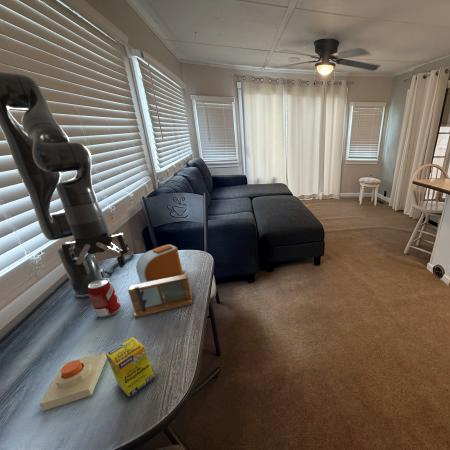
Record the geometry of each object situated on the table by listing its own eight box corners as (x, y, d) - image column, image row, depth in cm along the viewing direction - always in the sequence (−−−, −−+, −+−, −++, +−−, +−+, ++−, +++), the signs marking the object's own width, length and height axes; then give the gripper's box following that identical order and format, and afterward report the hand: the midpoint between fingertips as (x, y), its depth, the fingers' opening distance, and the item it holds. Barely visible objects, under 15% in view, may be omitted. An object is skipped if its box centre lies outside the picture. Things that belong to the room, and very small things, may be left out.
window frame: (138, 306, 86) (130, 283, 83) (192, 294, 92) (187, 272, 89) (134, 317, 81) (126, 293, 78) (191, 303, 87) (186, 280, 84)
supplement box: (130, 399, 56) (116, 365, 52) (118, 386, 59) (104, 353, 55) (155, 378, 61) (144, 346, 57) (143, 367, 64) (132, 335, 60)
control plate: (66, 369, 63) (60, 358, 62) (107, 358, 66) (102, 347, 65) (43, 410, 54) (35, 399, 52) (91, 395, 57) (86, 383, 55)
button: (67, 367, 60) (64, 362, 59) (85, 363, 61) (82, 357, 60) (60, 380, 57) (57, 375, 56) (79, 375, 58) (76, 370, 57)
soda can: (108, 319, 80) (97, 290, 76) (92, 317, 82) (80, 288, 77) (125, 306, 87) (116, 278, 82) (110, 304, 88) (100, 276, 84)
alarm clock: (174, 268, 111) (168, 241, 106) (184, 273, 106) (178, 246, 102) (140, 283, 100) (131, 254, 95) (149, 290, 95) (140, 260, 90)
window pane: (142, 306, 84) (134, 281, 81) (164, 301, 87) (157, 276, 83) (139, 316, 80) (130, 289, 76) (162, 310, 82) (155, 284, 79)
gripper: (120, 211, 72) (135, 259, 77) (59, 219, 66) (80, 270, 72) (114, 218, 65) (130, 269, 71) (45, 227, 60) (69, 282, 65)
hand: (105, 270), depth 71 cm, fingers open, 8 cm apart
